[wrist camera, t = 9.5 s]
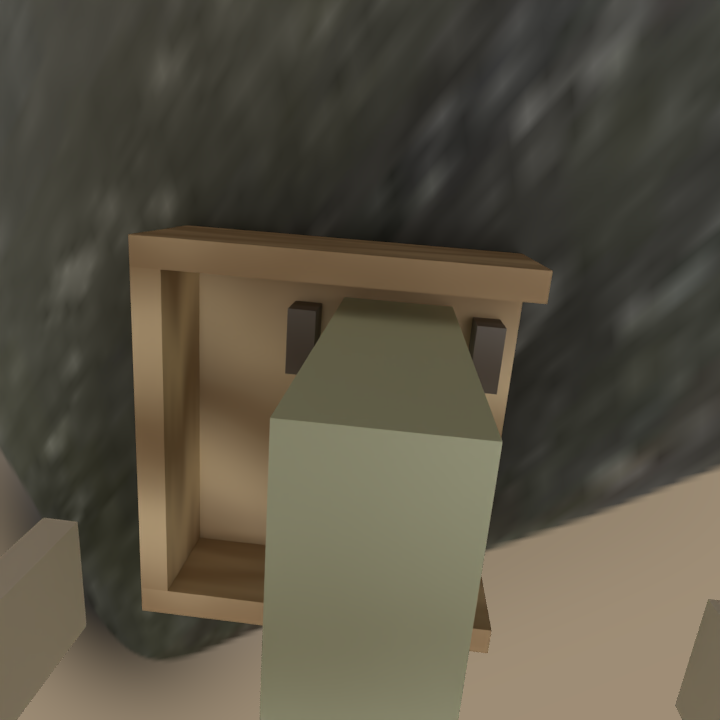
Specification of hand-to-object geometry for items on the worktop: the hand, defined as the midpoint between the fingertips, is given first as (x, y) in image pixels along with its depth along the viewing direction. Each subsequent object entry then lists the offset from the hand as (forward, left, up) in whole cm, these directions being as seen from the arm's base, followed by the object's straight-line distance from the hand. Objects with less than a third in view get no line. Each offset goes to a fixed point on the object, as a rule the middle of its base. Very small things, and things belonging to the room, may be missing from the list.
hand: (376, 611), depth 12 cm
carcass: (0, -2, -13) cm, 13 cm away
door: (0, 0, -11) cm, 11 cm away
